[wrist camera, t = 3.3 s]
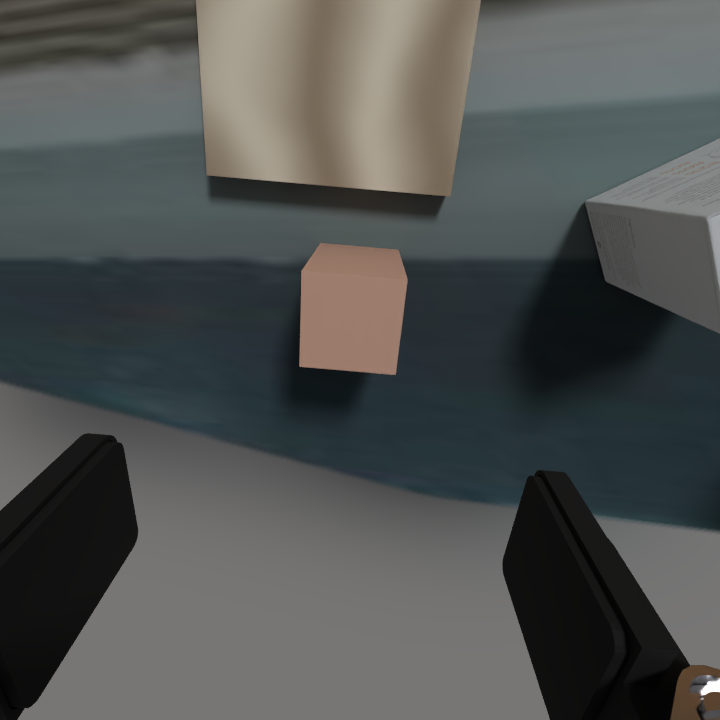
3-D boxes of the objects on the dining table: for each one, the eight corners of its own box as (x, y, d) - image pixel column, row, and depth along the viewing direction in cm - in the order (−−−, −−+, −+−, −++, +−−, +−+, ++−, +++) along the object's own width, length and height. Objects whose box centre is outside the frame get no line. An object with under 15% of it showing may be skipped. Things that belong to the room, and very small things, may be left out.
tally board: (503, -182, 20) (513, -208, 18) (446, 194, 26) (450, 196, 25) (194, -211, 19) (181, -239, 18) (215, 174, 26) (206, 175, 25)
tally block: (398, 249, 28) (407, 279, 20) (390, 323, 30) (395, 374, 22) (320, 243, 28) (301, 270, 20) (317, 317, 30) (299, 366, 22)
